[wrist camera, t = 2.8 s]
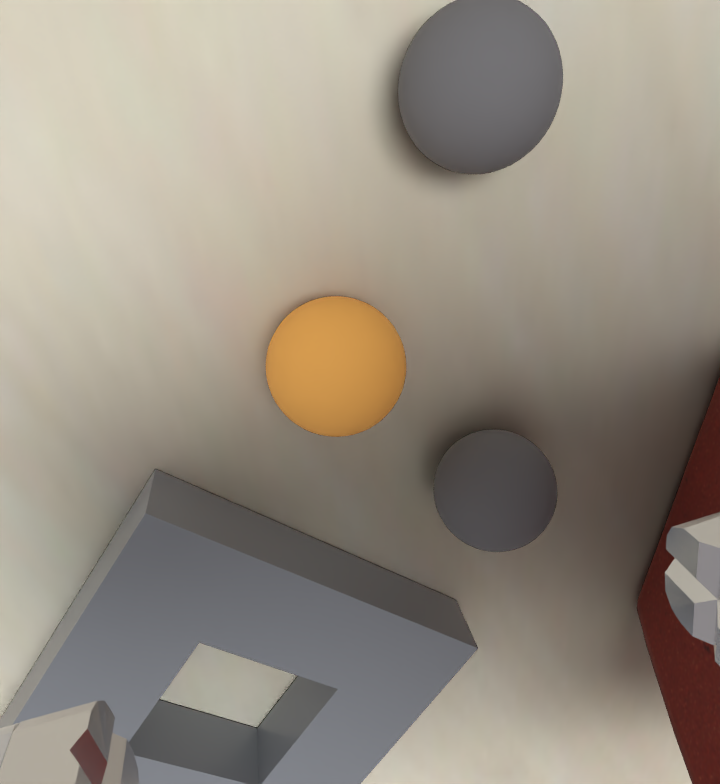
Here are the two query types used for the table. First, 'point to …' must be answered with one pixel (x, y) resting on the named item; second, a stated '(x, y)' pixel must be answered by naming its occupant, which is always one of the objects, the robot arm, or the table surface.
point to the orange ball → (336, 366)
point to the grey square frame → (246, 644)
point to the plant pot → (668, 636)
